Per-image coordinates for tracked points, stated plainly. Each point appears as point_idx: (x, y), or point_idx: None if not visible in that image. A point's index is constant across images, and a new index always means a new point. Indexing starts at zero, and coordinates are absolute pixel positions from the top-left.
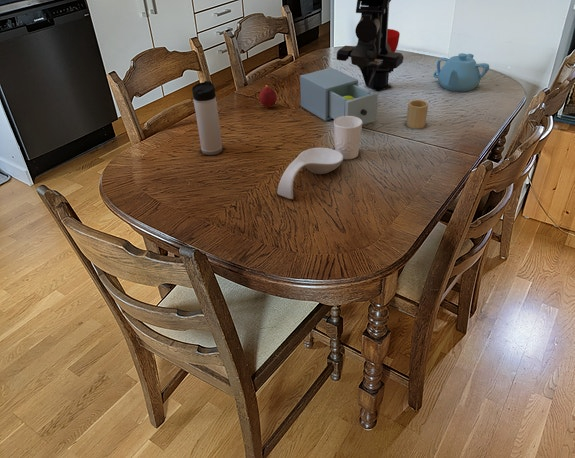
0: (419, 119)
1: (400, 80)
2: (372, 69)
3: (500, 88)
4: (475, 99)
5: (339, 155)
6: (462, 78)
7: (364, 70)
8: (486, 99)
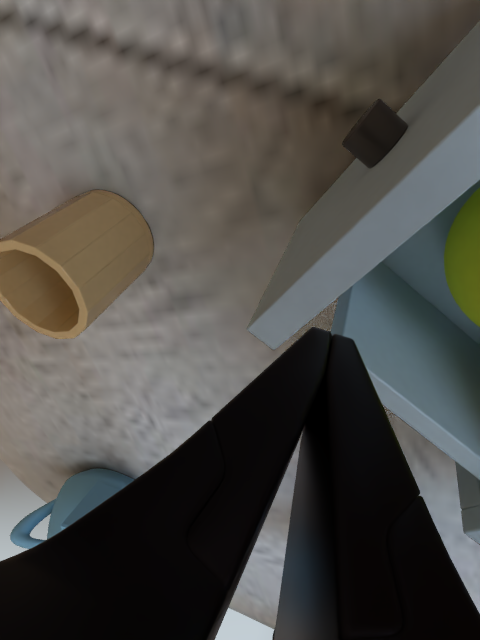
0: (49, 211)
1: (285, 545)
2: (3, 588)
3: (36, 471)
4: (49, 427)
5: None
6: (75, 504)
7: (362, 623)
8: (28, 426)
